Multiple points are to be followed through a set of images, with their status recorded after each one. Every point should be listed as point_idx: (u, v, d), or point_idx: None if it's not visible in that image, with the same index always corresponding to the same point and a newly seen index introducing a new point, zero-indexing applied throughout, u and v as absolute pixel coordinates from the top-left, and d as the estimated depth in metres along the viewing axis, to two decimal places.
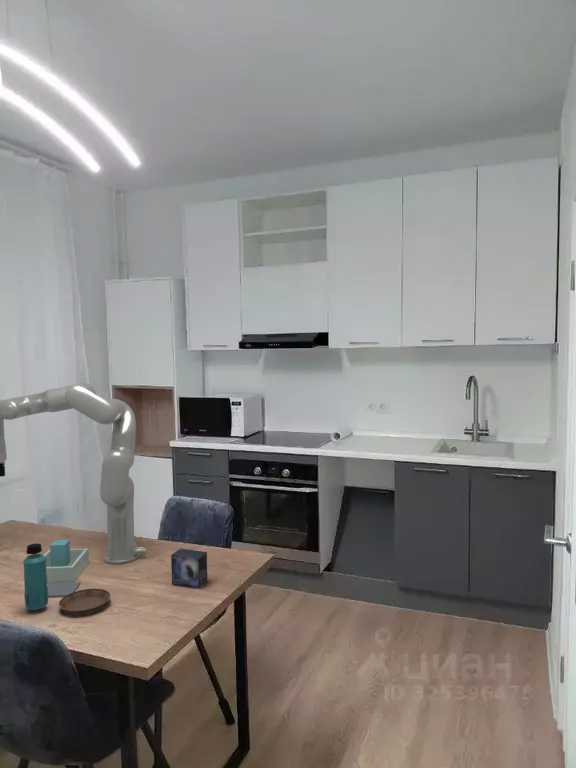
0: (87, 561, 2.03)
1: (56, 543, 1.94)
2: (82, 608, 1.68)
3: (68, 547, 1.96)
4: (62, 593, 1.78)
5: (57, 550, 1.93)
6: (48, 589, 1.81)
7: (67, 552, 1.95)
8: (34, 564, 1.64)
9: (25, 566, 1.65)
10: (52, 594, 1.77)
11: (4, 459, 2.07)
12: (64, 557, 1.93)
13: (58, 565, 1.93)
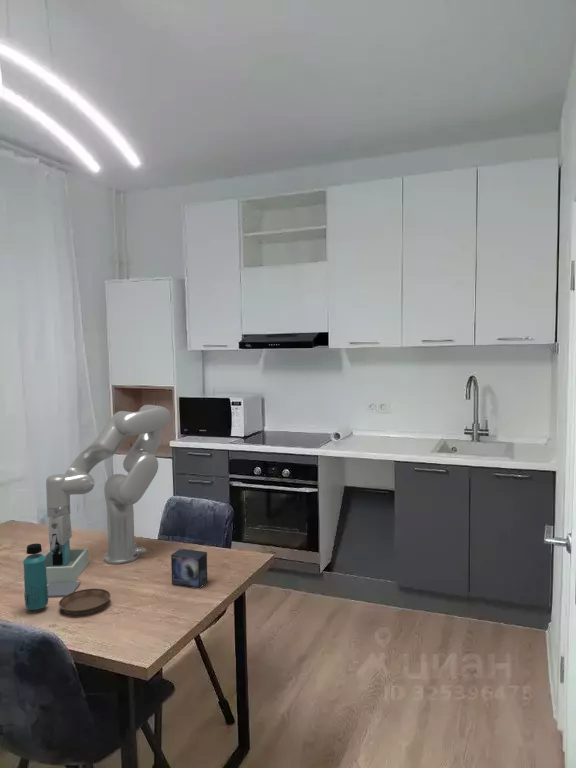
0: (87, 561, 2.03)
1: (56, 543, 1.94)
2: (82, 608, 1.68)
3: (68, 547, 1.96)
4: (62, 593, 1.78)
5: None
6: (48, 589, 1.81)
7: (67, 552, 1.95)
8: (34, 564, 1.64)
9: (25, 566, 1.65)
10: (52, 594, 1.77)
11: (70, 537, 1.98)
12: (64, 557, 1.93)
13: (58, 565, 1.93)
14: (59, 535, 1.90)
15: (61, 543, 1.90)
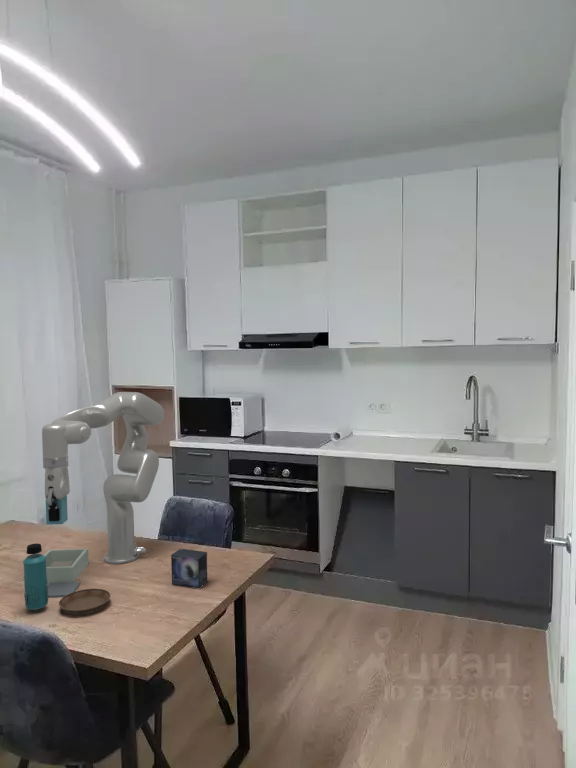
0: (87, 561, 2.03)
1: None
2: (82, 608, 1.68)
3: (65, 503, 1.81)
4: (62, 593, 1.78)
5: None
6: (48, 589, 1.81)
7: (64, 508, 1.79)
8: (34, 564, 1.64)
9: (25, 566, 1.65)
10: (52, 594, 1.77)
11: (67, 492, 1.82)
12: (61, 513, 1.78)
13: (54, 521, 1.78)
14: (56, 488, 1.75)
15: (58, 497, 1.75)
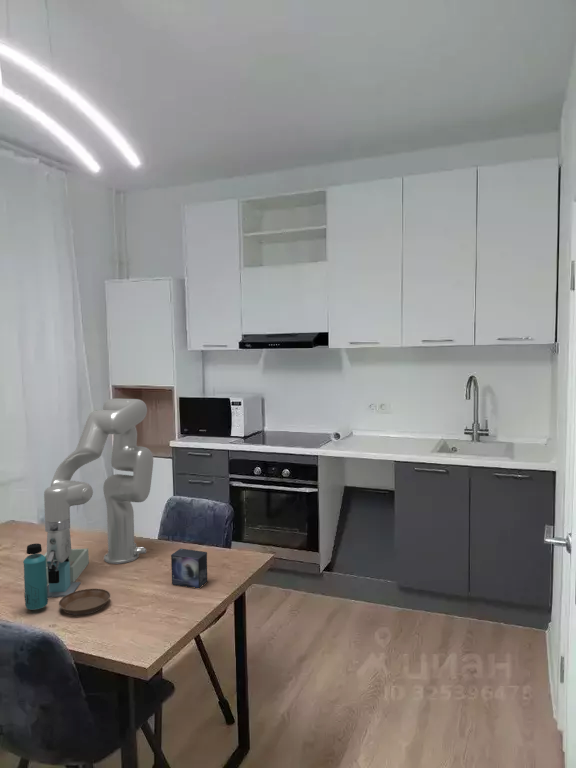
0: (87, 561, 2.03)
1: (55, 565, 1.80)
2: (82, 608, 1.68)
3: (68, 569, 1.82)
4: (62, 593, 1.78)
5: None
6: (48, 589, 1.81)
7: (66, 575, 1.81)
8: (34, 564, 1.64)
9: (25, 566, 1.65)
10: (52, 594, 1.77)
11: (69, 553, 1.83)
12: (64, 580, 1.79)
13: (57, 589, 1.79)
14: (58, 552, 1.76)
15: (60, 560, 1.76)
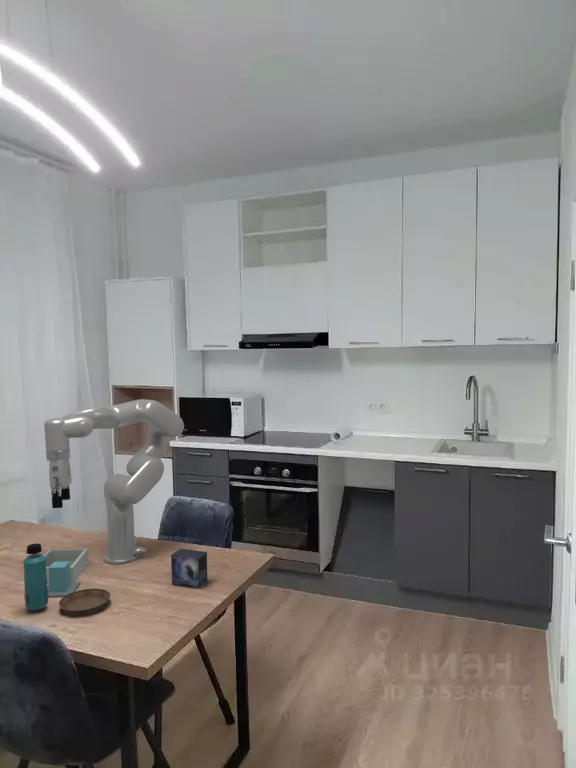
0: (87, 561, 2.03)
1: (55, 565, 1.80)
2: (82, 608, 1.68)
3: (68, 569, 1.82)
4: (62, 593, 1.78)
5: (56, 573, 1.79)
6: (48, 589, 1.81)
7: (66, 575, 1.81)
8: (34, 564, 1.64)
9: (25, 566, 1.65)
10: (52, 594, 1.77)
11: (70, 482, 1.94)
12: (64, 580, 1.79)
13: (57, 589, 1.79)
14: (60, 478, 1.86)
15: (62, 486, 1.87)
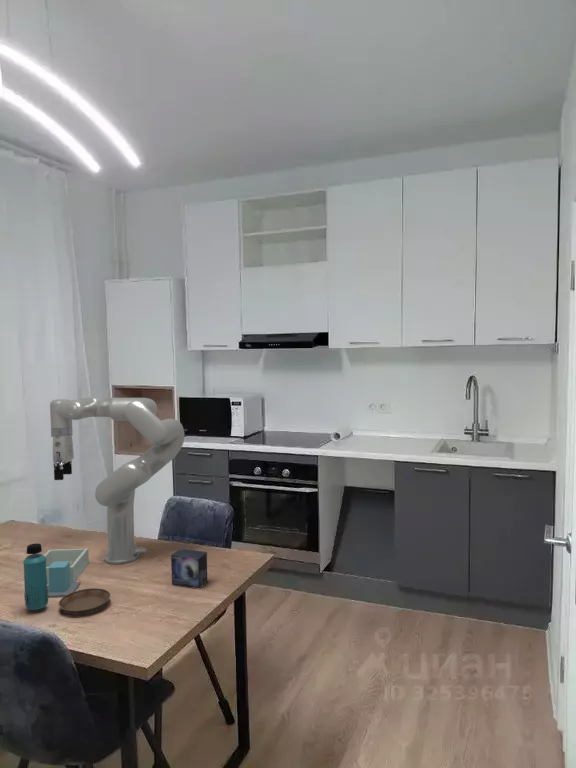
0: (87, 561, 2.03)
1: (55, 565, 1.80)
2: (82, 608, 1.68)
3: (68, 569, 1.82)
4: (62, 593, 1.78)
5: (56, 573, 1.79)
6: (48, 589, 1.81)
7: (66, 575, 1.81)
8: (34, 564, 1.64)
9: (25, 566, 1.65)
10: (52, 594, 1.77)
11: (72, 457, 2.14)
12: (64, 580, 1.79)
13: (57, 589, 1.79)
14: (62, 453, 2.06)
15: (64, 461, 2.06)
